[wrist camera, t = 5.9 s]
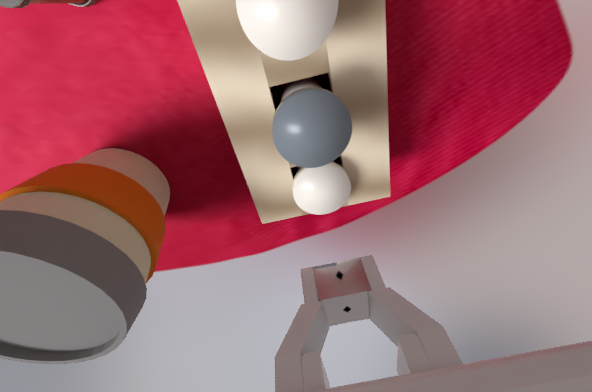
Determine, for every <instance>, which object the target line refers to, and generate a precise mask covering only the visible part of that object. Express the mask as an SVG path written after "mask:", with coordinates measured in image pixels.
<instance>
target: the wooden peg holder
mask: <svg viewBox="0 0 592 392" xmlns="http://www.w3.org/2000/svg"><path fill="white" fill-rule="evenodd" d="M177 1H178V4H179V6H180V9H181V11H182V14H183V17H184V19H185V22H186V25H187V27H188V30H189V32H190V35H191V38H192V40H193V43H194V46H195V48H196V51H197V53H198V56H199V59H200V61H201V64H202V67H203V69H204V72H205V75H206V77H207V80H208V82H209V85H210V88H211V90H212V93H213V96H214V98H215V101H216V103H217V106H218V109H219V111H220V114H221V117H222V119H223V122H224V124H225V127H226V130H227V132H228V135H229V138H230V140H231V143H232V146H233V148H234V151H235V153H236V156H237V159H238V161H239V164H240V167H241V169H242V172H243V174H244V177H245V180H246V182H247V185H248V188H249V190H250V193H251V195H252V198H253V201H254V203H255V206H256V209H257V211H258V214H259V217H260V219H261V222H262V224H264V223H269V222H274V221H278V220H283V219H288V218H292V217H297V216H302V215H306V214H311V213H308V212H306V211H304V210H302V209H301V208H300V207H299V206H298V205H297V204H296V202H295V200H294V197H293V189H292V184H293V179H294V177H295V176H293V174H292V170H291V168H292V167H296V165H294V164H291V163H290V162H288V161H287V160H285V159H284V158H283V157H282V156H281V155H280V153H279V152H278V150H277V149H276V147H275V144H274V141H273V134H272V124H273V117H274V114H275V111H276V109H275V105H274V101H273V97H272V93H271V90H270V87H272V86H276V85H280V84H284V83H288V82H292V81H296V80H300V79H304V78H308V77H313V76H317V75H321V74H325V73H328V74H329V81H330V88H331V92H332V93H334V94H335V95H336V96H337V97H338V98H339V99H340V100H341V101H342V102H343V104H344V105H345V107H346V108H347V110H348V112H349V114H350V117H351V121H352V134H351V138H350V141H349V143H348V145H347V147H346V149H345V150H344V152H343V153H342V154H341V155H340V156H339V157H340V160H341V165H340V166H341V167H343V169H344V170H345V171H346V173H347V175H348V178H349V180H350V183H351V193H350V196H349V198H348V200H347V201H346V203H345V204H344V205H343V206H348V205H353V204H357V203H362V202H367V201H371V200H376V199H381V198H385V197H390V166H389V126H388V87H387V47H386V8H385V0H339V1H338V11H337V16H336V20H335V23H334V26H333V28H332V31H331V32H330V34H329V36H328V38H327V39H326V40H325V42H324V43H323V44H322V45H321V46H320V47H319V48H318V49H317V50H316V51H315V52H313V53H312V54H310V55H308V56H306V57H304V58H301V59H298V60H293V61H284V60H278V59H274V58H272V57H269V56H267V55H266V54H264V53H262V52H261V51H260V50H258V49H257V48H256V47H255V46H254V45H253V44H252V42H251V41H250V40H249V39H248V37H247V36H246V34H245V32H244V30H243V28H242V26H241V24H240V21H239V18H238V14H237V9H236V0H177ZM343 206H342V207H343Z"/></svg>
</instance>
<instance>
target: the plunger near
mask: <svg viewBox="0 0 592 392" xmlns="http://www.w3.org/2000/svg"><path fill="white" fill-rule="evenodd" d="M338 1H339V0H236V9H237V14H238V18H239V21H240V24H241V26H242V28H243V30H244V32H245V34H246V36H247V37H248V39H249V40H250V41H251V42H252V44H253V45H254V46H255V47H256V48H257V49H258V50H260V51H261V52H262V53H264V54H266V55H267V56H269V57H272V58H274V59H278V60H284V61H293V60H298V59H301V58H304V57H306V56H308V55H310V54H312V53H313V52H315V51H316V50H317V49H318V48H319V47H320V46H321V45H322V44H323V43H324V42H325V40H326V39H327V38H328V36H329V34H330V32H331V31H332V28H333V26H334V23H335V20H336V16H337V11H338Z"/></svg>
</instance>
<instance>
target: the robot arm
mask: <svg viewBox="0 0 592 392" xmlns="http://www.w3.org/2000/svg"><path fill="white" fill-rule="evenodd" d="M301 278H302V286H303V294H304V302H305V304H302V305H301V306H300V308H299V310H298V312H297V314H296V316H295V318H294V320H293V322H292V324H291V327H290V328H289V330H288V332H287V334H286V336H285V338H284V340H283V342H282V344H281V346H280V348H279V350H278V352H277V354H276V356H275V392H592V341H587V342H582V343H576V344H571V345H565V346H560V347H554V348H549V349H543V350H538V351H532V352H527V353H521V354H515V355H510V356H505V357H499V358H493V359H488V360H482V361H477V362H471V363H466V364H463V363H462V361H461V359H460V358H459V356H458V354H457V352H456V350H455V348H454V346H453V345H452V343H451V341H450V339H449V337H448V335H447V333H446V331H445V330H444V328H443V326H442V325H440V324H439V323H438V322H436V321H435V320H433V319H432V318H431V317H429V316H428V315H427V314H425V313H424V312H422V311H421V310H420V309H418V308H417V307H416V306H414V305H413V304H411V303H410V302H409V301H407V300H406V299H405V298H403V297H402V296H401V295H399V294H398V293H396V292H395V291H394V290H392V289H391V288H386V287H385V285H384V282H383V280H382V277H381V275H380V273H379V271H378V268H377V266H376V263H375V261H374V258H373V256H371V255H370V256H365V257H360V258H354V259H349V260H345V261H340V262H336V263H332V264H326V265H321V266H315V267H310V268H305V269H301ZM364 319H370V320H371V321H372V322H373V323H374V324H375V325H376V326H377V327H378V328H379V329H380V330H381V331H382V332H383V333H384V334H385V335H386V336H387V337H388V338H389V339H390V340H391V341H392V342H393V343H394V344H395V345H396V346H397V347H398V358H397V371H398V374H399V376H394V377H388V378H383V379H377V380H372V381H366V382H361V383H355V384H350V385H344V386H339V387H333V388H330V386H329V381H328V378H327V375H326V372H325V368H324V366H323V362H322V359H321V356H320V354H321V351H322V348H323V345H324V342H325V339H326V336H327V333H328V330H329V326H333V325H337V324H342V323H346V322H351V321H357V320H364Z"/></svg>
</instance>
